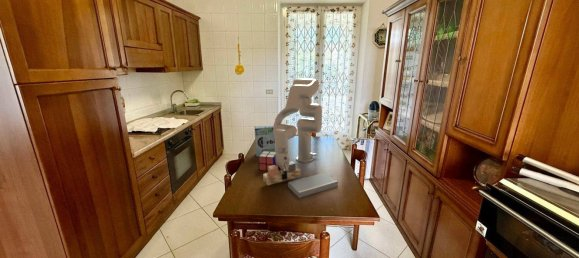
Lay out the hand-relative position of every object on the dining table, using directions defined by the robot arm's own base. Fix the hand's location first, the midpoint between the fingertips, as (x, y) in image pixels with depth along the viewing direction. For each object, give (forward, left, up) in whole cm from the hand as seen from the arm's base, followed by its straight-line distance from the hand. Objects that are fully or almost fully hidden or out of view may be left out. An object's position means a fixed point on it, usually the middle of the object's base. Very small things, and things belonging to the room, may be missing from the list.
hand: (282, 176), depth 141 cm
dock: (-14, +13, -4) cm, 19 cm away
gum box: (-10, -45, -4) cm, 46 cm away
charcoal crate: (-6, 0, +3) cm, 7 cm away
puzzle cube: (-1, -23, -4) cm, 23 cm away
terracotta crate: (+6, 0, +3) cm, 7 cm away
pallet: (0, 0, -1) cm, 1 cm away
